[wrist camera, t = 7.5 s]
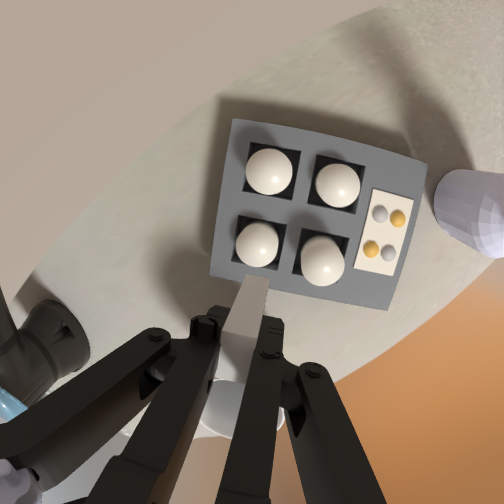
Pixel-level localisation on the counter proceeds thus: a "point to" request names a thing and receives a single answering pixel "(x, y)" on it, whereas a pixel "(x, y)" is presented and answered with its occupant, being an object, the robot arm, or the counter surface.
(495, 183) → the soap bottle
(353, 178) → the button
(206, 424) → the mug
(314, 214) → the button board
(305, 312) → the counter surface
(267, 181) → the button
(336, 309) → the counter surface
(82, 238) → the counter surface
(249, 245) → the button
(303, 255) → the button
